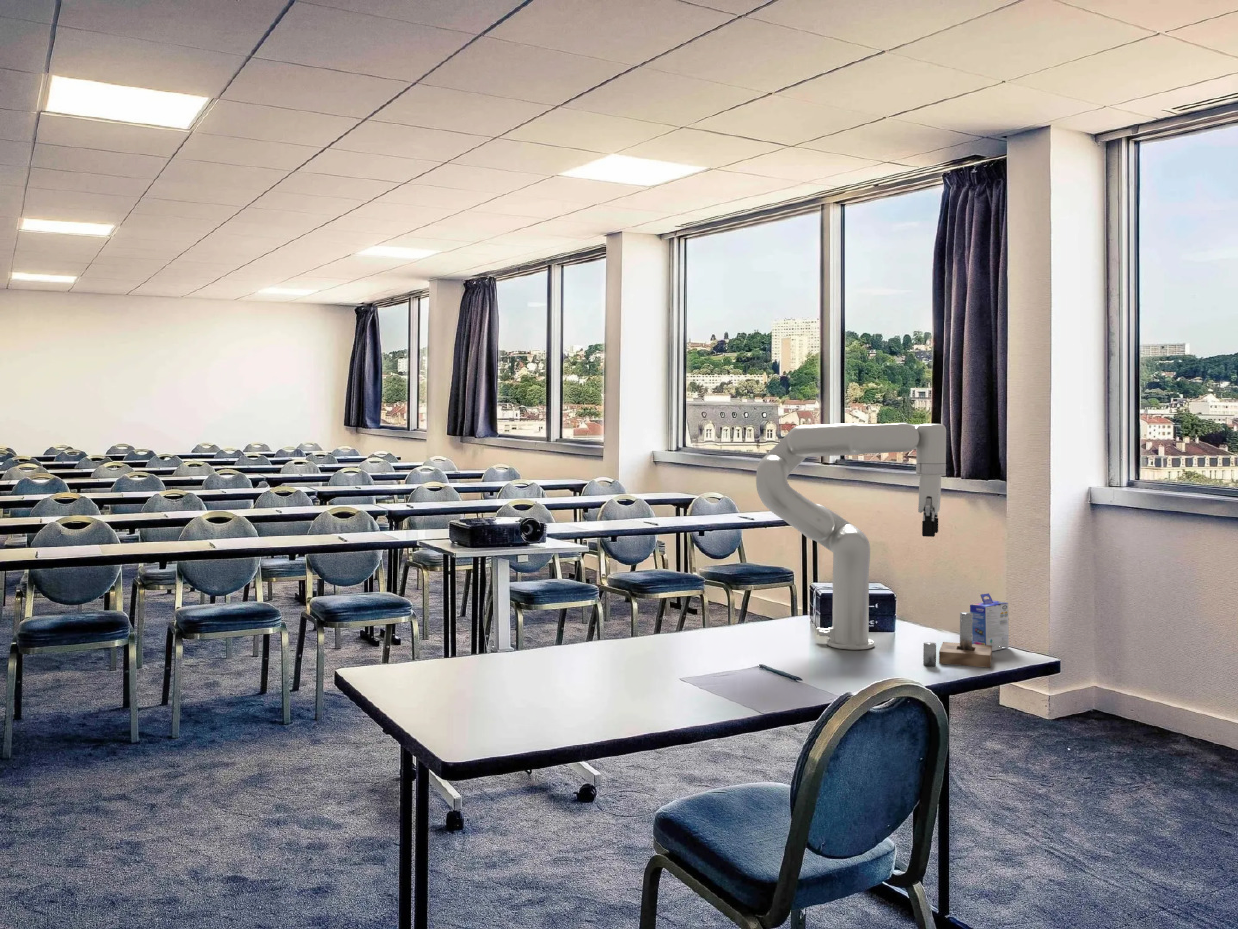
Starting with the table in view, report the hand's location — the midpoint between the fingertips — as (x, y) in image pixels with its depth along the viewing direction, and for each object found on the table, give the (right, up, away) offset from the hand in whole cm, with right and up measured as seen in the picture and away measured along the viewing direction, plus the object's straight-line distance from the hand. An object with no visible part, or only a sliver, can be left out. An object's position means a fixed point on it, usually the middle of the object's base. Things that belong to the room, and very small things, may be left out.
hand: (930, 534), depth 275 cm
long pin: (+5, -31, -13) cm, 34 cm away
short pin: (-6, -31, -19) cm, 37 cm away
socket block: (+5, -31, -14) cm, 34 cm away
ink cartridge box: (+15, -31, 0) cm, 34 cm away
